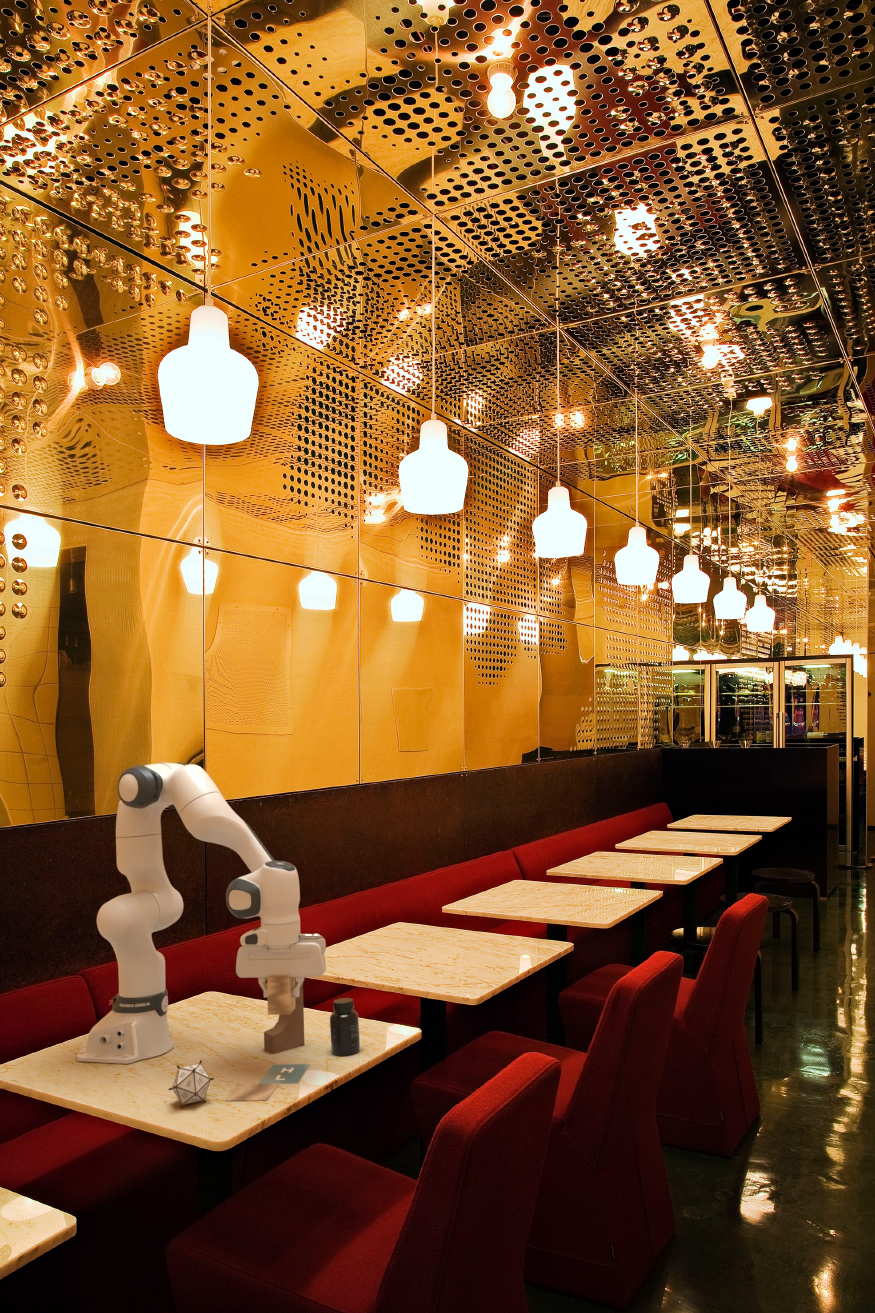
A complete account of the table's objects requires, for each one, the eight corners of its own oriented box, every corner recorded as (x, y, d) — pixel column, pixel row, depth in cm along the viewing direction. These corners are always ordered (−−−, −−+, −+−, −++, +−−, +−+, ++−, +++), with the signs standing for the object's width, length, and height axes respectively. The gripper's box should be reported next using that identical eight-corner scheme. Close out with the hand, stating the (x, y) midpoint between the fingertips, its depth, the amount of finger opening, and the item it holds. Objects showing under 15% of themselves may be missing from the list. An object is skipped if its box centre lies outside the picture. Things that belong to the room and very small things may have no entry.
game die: (181, 1125, 179) (152, 1085, 180) (210, 1096, 186) (181, 1058, 187) (201, 1111, 174) (171, 1071, 175) (230, 1082, 181) (200, 1043, 182)
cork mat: (224, 1102, 180) (224, 1100, 180) (238, 1086, 189) (238, 1084, 189) (267, 1102, 179) (266, 1100, 179) (278, 1085, 188) (278, 1083, 188)
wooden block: (272, 1055, 208) (270, 977, 211) (263, 1051, 212) (261, 974, 214) (305, 1046, 214) (303, 970, 216) (296, 1042, 218) (294, 967, 220)
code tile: (257, 1085, 189) (257, 1084, 189) (272, 1065, 201) (272, 1064, 201) (297, 1084, 188) (297, 1083, 188) (310, 1065, 200) (310, 1064, 200)
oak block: (267, 1014, 194) (267, 977, 195) (274, 1008, 199) (273, 972, 200) (289, 1014, 194) (289, 977, 195) (295, 1008, 199) (294, 972, 200)
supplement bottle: (354, 1046, 212) (352, 995, 214) (364, 1054, 206) (362, 1001, 207) (327, 1051, 209) (325, 999, 211) (336, 1059, 203) (334, 1006, 204)
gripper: (328, 930, 201) (329, 992, 199) (242, 932, 202) (242, 993, 201) (322, 936, 194) (323, 1000, 193) (233, 937, 196) (233, 1001, 195)
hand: (281, 997), depth 197 cm, fingers closed on oak block, 5 cm apart
